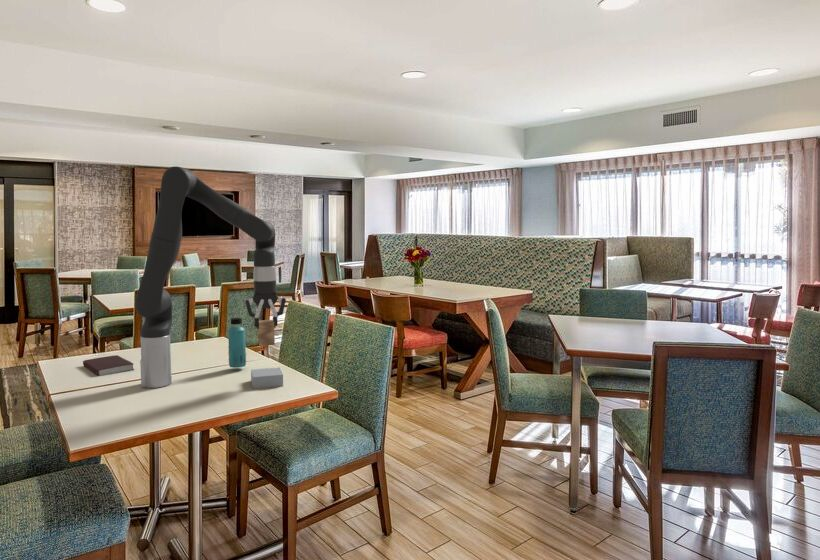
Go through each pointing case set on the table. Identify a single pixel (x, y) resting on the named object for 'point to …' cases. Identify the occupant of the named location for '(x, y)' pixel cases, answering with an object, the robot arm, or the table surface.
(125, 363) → the book
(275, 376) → the base plinth
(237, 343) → the beverage bottle
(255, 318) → the robot arm
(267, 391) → the table surface
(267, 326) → the walnut block
